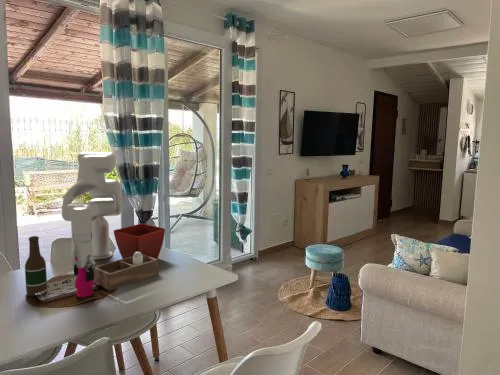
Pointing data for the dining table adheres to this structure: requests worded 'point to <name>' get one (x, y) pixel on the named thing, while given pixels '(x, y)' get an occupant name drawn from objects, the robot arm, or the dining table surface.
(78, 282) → the pepper mill
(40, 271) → the beer bottle
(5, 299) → the dining table surface
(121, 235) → the plant pot
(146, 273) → the caddy
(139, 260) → the salt shaker
